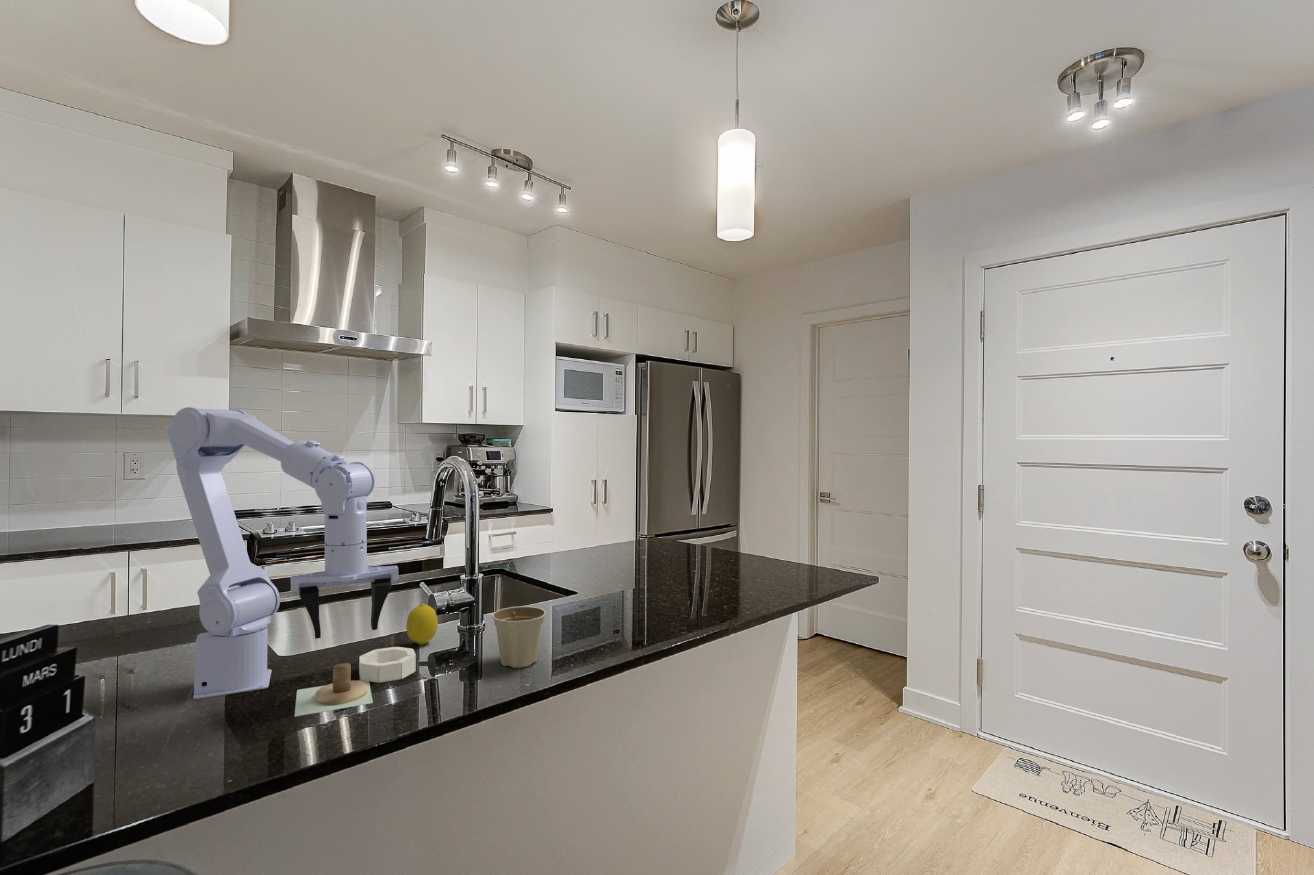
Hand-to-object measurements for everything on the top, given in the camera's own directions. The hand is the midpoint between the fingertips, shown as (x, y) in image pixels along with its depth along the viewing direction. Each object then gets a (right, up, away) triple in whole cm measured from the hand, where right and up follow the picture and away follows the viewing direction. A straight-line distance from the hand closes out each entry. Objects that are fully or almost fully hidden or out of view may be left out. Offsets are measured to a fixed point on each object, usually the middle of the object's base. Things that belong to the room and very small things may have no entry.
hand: (346, 632), depth 95 cm
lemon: (+3, -10, +23) cm, 25 cm away
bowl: (+2, -10, +9) cm, 14 cm away
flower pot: (+23, -10, +16) cm, 29 cm away
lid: (-1, -9, 0) cm, 9 cm away
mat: (-2, -10, -1) cm, 10 cm away
